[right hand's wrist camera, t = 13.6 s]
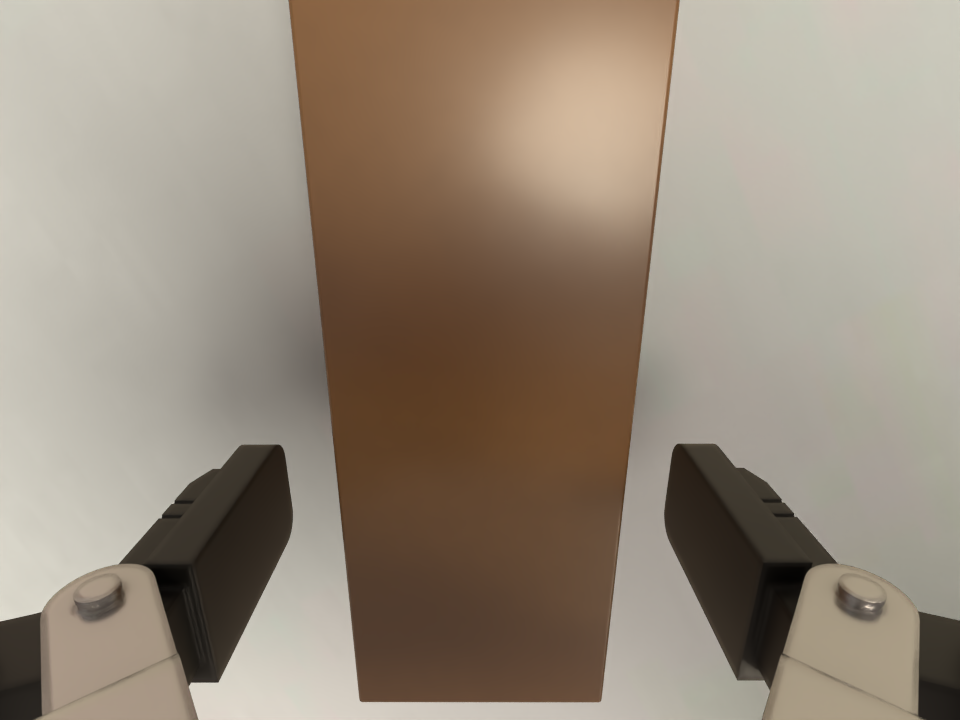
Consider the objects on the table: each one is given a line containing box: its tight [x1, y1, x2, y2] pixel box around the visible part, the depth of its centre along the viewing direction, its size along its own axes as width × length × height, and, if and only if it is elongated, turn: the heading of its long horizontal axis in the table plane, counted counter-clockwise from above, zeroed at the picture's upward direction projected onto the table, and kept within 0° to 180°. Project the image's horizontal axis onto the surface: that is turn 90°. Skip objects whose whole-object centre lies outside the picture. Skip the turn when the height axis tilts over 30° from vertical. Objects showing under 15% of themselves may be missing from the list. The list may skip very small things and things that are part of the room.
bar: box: [289, 0, 680, 702], centre depth 10 cm, size 25×5×8 cm, turn 0°
